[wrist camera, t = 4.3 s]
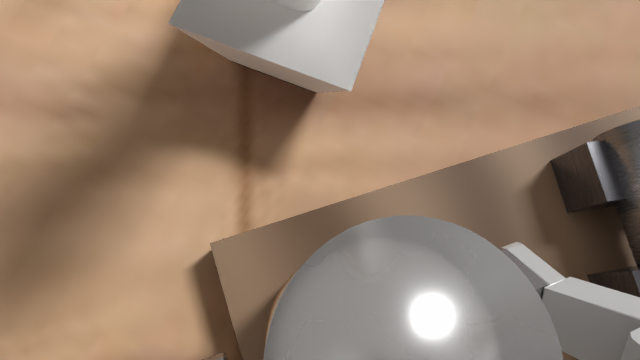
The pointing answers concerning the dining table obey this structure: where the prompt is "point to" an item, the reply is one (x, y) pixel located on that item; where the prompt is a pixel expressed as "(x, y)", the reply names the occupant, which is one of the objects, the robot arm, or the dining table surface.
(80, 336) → the dining table surface
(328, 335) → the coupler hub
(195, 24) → the white peg on base
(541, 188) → the walnut base board
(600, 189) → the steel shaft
